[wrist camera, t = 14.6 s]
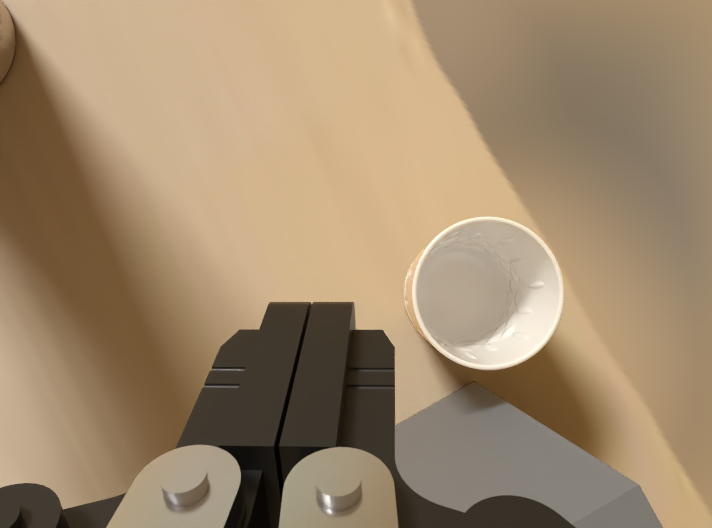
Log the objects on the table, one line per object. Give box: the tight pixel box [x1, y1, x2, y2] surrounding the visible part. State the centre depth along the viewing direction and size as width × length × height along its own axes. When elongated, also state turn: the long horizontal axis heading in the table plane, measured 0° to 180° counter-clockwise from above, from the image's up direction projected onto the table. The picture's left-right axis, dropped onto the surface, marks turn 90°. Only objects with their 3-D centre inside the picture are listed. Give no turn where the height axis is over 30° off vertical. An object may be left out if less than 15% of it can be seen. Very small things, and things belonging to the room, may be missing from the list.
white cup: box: [402, 217, 564, 370], centre depth 36 cm, size 8×8×10 cm
